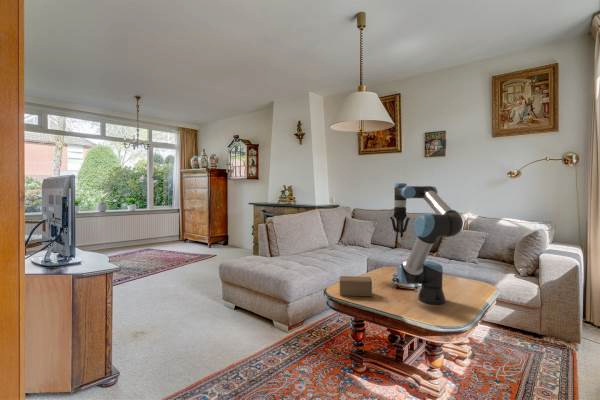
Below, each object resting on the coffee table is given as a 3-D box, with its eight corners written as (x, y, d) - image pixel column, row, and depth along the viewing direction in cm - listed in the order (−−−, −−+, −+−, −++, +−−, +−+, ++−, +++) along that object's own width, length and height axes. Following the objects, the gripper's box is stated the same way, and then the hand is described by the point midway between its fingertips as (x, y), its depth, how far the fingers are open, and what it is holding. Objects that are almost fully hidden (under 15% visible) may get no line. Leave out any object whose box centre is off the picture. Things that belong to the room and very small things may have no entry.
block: (370, 276, 204) (339, 275, 207) (372, 281, 194) (339, 280, 197) (370, 291, 205) (339, 290, 208) (372, 297, 195) (339, 296, 198)
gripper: (412, 206, 205) (411, 242, 206) (392, 206, 213) (392, 240, 214) (408, 207, 199) (407, 244, 200) (388, 206, 207) (388, 242, 208)
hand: (399, 242), depth 207 cm, fingers closed
